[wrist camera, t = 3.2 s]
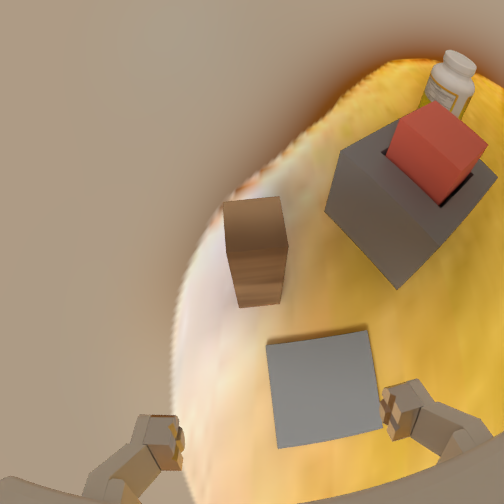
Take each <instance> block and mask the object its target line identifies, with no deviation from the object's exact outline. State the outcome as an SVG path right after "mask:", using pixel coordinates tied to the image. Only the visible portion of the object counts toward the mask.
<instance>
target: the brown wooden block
mask: <svg viewBox="0 0 504 504" xmlns="http://www.w3.org/2000/svg"><path fill="white" fill-rule="evenodd" d="M223 214H224V229H225V242H226V254H227V258H228V263H229V267H230V271H231V275H232V280H233V284H234V288H235V292H236V297H237V301H238V305H239V308H246V307H256V306H265V305H273V304H280V298H281V291H282V285H283V279H284V273H285V266H286V260H287V253H288V241H287V235H286V229H285V224H284V218H283V213H282V208H281V202H280V197H279V196H278V197H267V198H257V199H247V200H237V201H228V202H223Z"/></svg>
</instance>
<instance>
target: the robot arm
mask: <svg viewBox="0 0 504 504" xmlns="http://www.w3.org/2000/svg"><path fill="white" fill-rule="evenodd" d="M382 396H383V398H384V399H383V400H382V401H381V402H380V406H379V412H380V417H381V420H382V422H383V423H384V424H386V425H388V427H387V432H388V434H389V436H390V438H391V440H392V442H393V441H396V440H400V439H403V438H406V437H410V436H411V438H413V439H414V440H416V441H417V442H419V443H420V444H422V445H423V446H425V447H426V448H428V449H429V450H431V451H432V452H434V453H436V454H437V455H439V456H440V459H439V461H438V462H437V464H436V465H435V466H433V467H430V468H428V469H425V470H423V471H420V472H417V473H415V474H412V475H409V476H406V477H403V478H401V479H398V480H395V481H392V482H388V483H385V484H382V485H379V486H375V487H372V488H368V489H365V490H361V491H357V492H353V493H349V494H345V495H341V496H336V497H331V498H327V499H322V500H316V501H311V502H305V503H299V504H504V431H503V432H502V433H500V434H498V435H496V436H495V437H493V436H492V434H491V433H490V432H489V430H488V429H487V427H486V426H485V425H484V423H483V422H482V421H481V419H479V418H476V417H474V416H471V415H469V414H466V413H464V412H462V411H459V410H457V409H454V408H452V407H450V406H447V405H445V404H443V403H440V402H434V400H433V399H432V397H431V396H430V394H429V393H428V392H427V390H426V389H425V387H424V386H423V385H422V383H421V382H420V381H419V379H414V380H410V381H407V382H403V383H400V384H396V385H392V386H389V387H385V388H384V389H383V392H382ZM184 447H185V437H184V433H183V430H182V428H181V427H179V419H178V417H177V416H176V415H142V414H140V415H139V416H138V418H137V421H136V425H135V428H134V431H133V435H132V438H131V442H130V444H126V445H125V446H123V447H122V448H121V449H119V450H118V451H117V452H116V453H114V454H113V455H112V456H111V457H110V458H108V459H107V460H106V461H105V462H103V463H102V464H101V465H99V466H98V467H97V468H96V469H94V470H93V471H92V472H91V473H89V475H88V478H87V481H86V484H85V487H84V490H83V493H82V496H78V495H73V494H69V493H65V492H62V491H58V490H54V489H51V488H47V487H44V486H41V485H37V484H35V483H32V482H29V481H26V480H23V479H20V478H18V477H14V476H8V477H6V478H3V479H1V480H0V504H142V503H141V502H140V501H139V500H138V498H139V497H140V496H141V494H142V493H143V492H144V491H145V490H146V489H147V487H148V486H149V485H150V484H151V483H152V482H153V481H154V480H155V478H156V477H157V476H158V475H159V474H160V473H161V471H182V463H183V457H182V454H181V452H182V451H183V450H184Z"/></svg>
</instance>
